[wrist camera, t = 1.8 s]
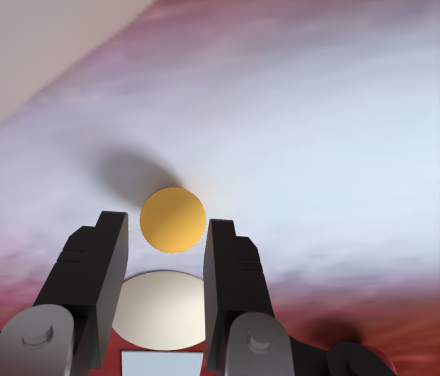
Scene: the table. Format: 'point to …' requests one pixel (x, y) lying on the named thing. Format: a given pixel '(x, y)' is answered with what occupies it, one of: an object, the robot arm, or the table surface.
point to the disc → (161, 310)
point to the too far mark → (161, 363)
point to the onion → (382, 357)
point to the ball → (172, 220)
